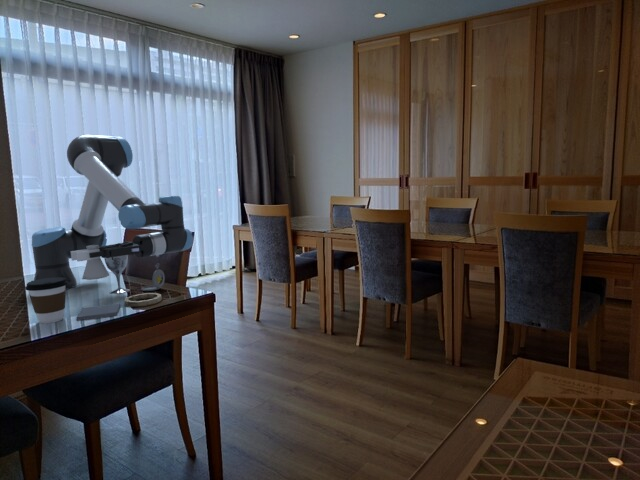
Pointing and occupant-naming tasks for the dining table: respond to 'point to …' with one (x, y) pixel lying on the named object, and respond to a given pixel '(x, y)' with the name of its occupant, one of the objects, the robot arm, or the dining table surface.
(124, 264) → the wine glass
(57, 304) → the coffee cup
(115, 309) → the rubber mat
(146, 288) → the pocket watch
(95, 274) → the flask
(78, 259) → the robot arm
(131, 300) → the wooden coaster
